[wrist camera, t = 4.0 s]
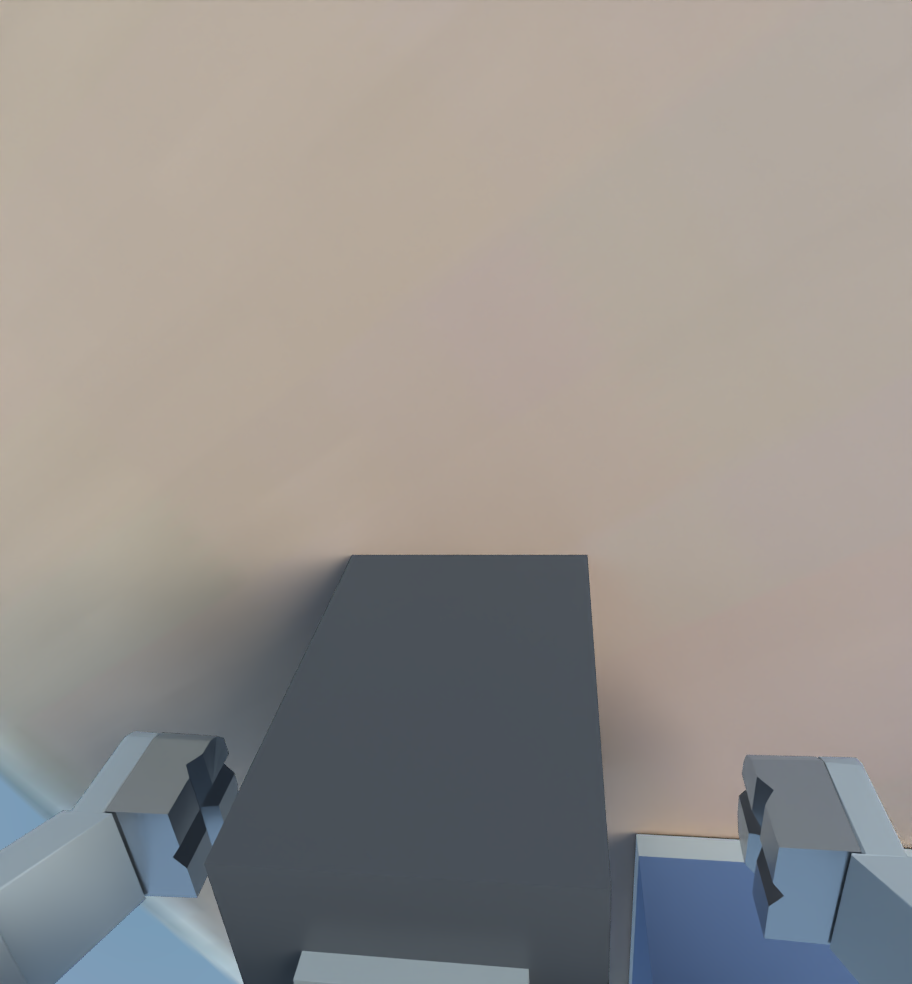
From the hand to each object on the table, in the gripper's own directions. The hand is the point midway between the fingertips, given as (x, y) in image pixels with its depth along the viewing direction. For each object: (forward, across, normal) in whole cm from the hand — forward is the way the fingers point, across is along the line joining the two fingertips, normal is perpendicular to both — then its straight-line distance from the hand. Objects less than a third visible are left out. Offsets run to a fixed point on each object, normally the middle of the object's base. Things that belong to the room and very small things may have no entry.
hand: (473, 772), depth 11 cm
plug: (+2, 0, 0) cm, 2 cm away
